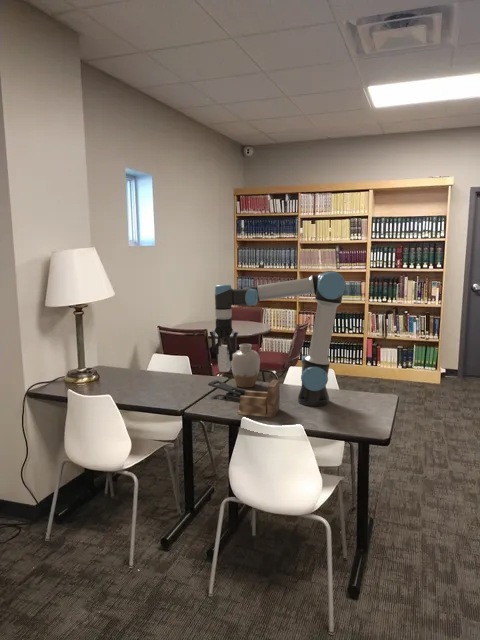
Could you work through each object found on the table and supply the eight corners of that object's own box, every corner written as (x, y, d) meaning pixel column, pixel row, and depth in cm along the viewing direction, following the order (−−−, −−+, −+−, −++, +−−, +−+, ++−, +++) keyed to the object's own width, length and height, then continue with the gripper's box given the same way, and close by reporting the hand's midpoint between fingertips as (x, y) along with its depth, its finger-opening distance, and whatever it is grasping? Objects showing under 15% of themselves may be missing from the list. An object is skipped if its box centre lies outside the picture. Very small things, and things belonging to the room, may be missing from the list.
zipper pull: (216, 379, 251) (256, 386, 237) (216, 391, 252) (256, 399, 238) (206, 383, 244) (246, 390, 230) (206, 395, 245) (246, 404, 231)
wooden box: (279, 408, 223) (279, 379, 221) (274, 417, 211) (274, 386, 209) (244, 405, 227) (244, 377, 225) (237, 414, 216) (237, 384, 214)
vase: (262, 388, 257) (262, 346, 254) (234, 390, 254) (233, 348, 251) (256, 380, 272) (256, 341, 269) (229, 382, 269) (228, 342, 266)
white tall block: (229, 369, 225) (229, 345, 223) (227, 371, 221) (226, 346, 219) (221, 369, 226) (221, 344, 224) (219, 371, 222) (218, 346, 220)
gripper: (243, 317, 221) (244, 366, 224) (209, 316, 226) (210, 364, 229) (239, 319, 214) (239, 370, 217) (203, 318, 219) (204, 368, 222)
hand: (224, 367), depth 223 cm, fingers closed on white tall block, 4 cm apart
